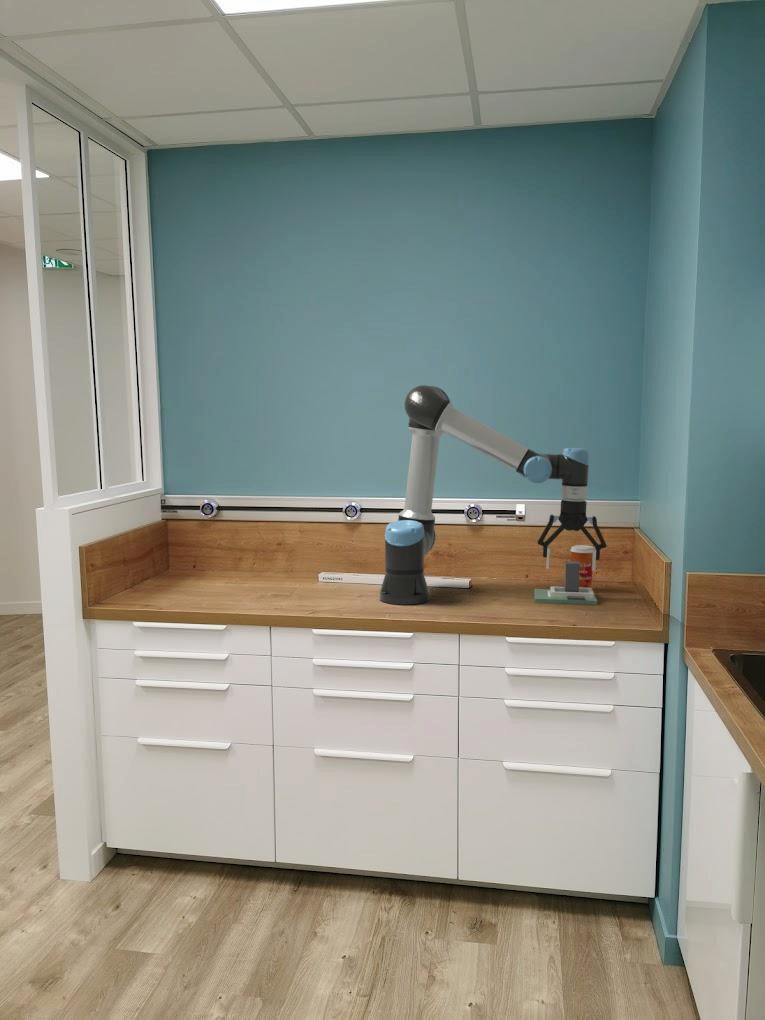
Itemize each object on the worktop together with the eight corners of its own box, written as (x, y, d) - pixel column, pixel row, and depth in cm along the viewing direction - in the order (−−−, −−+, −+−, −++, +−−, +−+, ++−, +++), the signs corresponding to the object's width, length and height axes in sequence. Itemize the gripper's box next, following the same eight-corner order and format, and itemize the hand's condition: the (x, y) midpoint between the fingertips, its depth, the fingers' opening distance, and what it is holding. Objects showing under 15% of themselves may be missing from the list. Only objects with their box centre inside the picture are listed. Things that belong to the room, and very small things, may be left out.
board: (534, 602, 243) (535, 593, 243) (534, 592, 257) (534, 584, 257) (597, 604, 240) (597, 595, 240) (593, 594, 254) (593, 585, 254)
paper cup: (566, 591, 259) (567, 547, 257) (572, 586, 265) (573, 544, 264) (591, 593, 255) (592, 549, 253) (596, 589, 262) (598, 545, 260)
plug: (565, 596, 246) (565, 563, 245) (564, 592, 251) (565, 560, 250) (578, 596, 246) (579, 563, 244) (577, 593, 250) (578, 561, 249)
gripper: (531, 499, 243) (528, 569, 246) (618, 502, 239) (614, 573, 241) (531, 496, 250) (528, 564, 253) (615, 500, 246) (611, 569, 249)
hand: (570, 569), depth 247 cm, fingers open, 13 cm apart
